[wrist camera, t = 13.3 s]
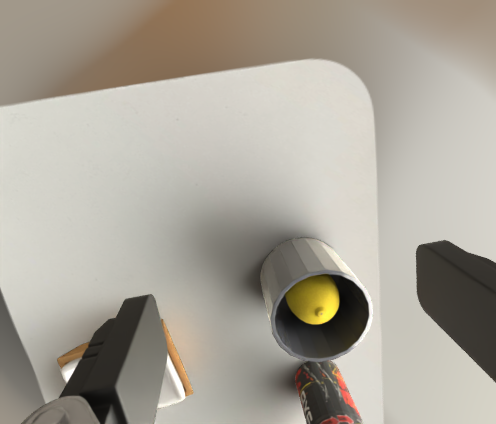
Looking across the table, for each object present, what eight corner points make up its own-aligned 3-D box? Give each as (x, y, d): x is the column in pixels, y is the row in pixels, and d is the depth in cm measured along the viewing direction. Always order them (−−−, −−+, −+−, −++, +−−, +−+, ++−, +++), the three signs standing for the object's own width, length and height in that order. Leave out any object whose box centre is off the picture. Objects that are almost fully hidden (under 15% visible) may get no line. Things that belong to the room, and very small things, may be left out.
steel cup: (254, 244, 40) (264, 280, 31) (337, 230, 40) (369, 261, 32) (266, 318, 43) (278, 369, 34) (344, 304, 43) (375, 352, 34)
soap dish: (168, 307, 41) (161, 332, 36) (196, 372, 44) (193, 403, 39) (69, 339, 41) (49, 368, 37) (103, 401, 44) (89, 437, 39)
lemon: (317, 247, 40) (339, 279, 32) (331, 287, 42) (357, 326, 34) (272, 265, 40) (285, 301, 32) (289, 304, 42) (304, 347, 34)
